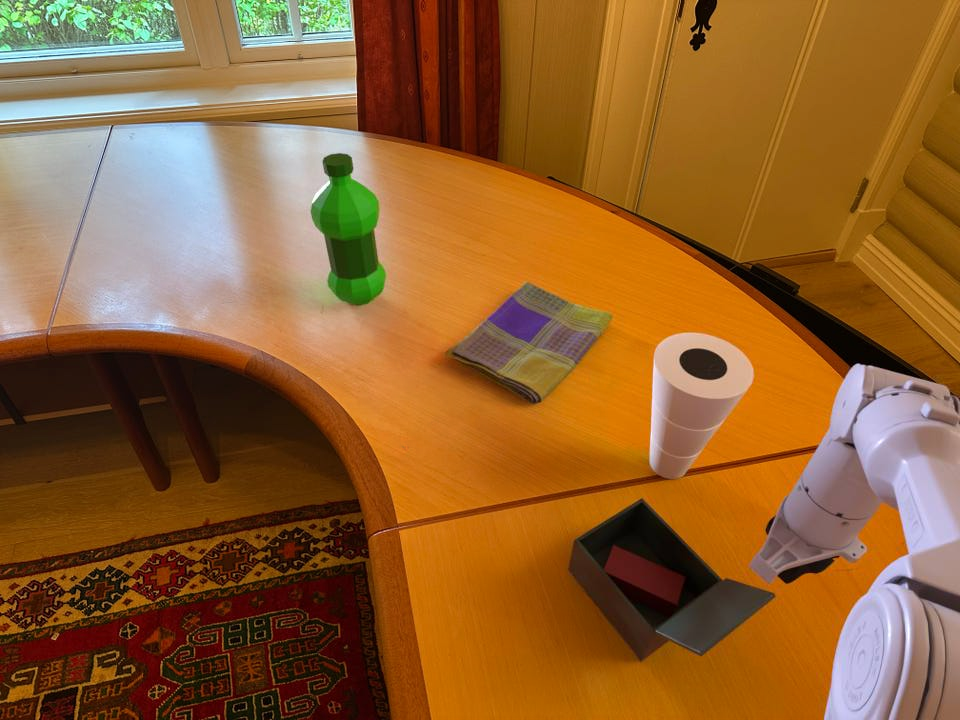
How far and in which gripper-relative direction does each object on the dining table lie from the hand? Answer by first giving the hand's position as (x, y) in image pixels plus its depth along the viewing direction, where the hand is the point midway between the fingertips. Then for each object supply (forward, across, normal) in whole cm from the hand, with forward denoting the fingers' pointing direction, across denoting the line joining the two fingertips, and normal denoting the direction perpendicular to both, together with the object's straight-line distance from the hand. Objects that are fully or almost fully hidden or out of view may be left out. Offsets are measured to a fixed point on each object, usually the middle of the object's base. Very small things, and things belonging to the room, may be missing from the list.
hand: (781, 572), depth 58 cm
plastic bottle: (+9, -9, +75) cm, 76 cm away
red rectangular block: (+9, -8, +9) cm, 15 cm away
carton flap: (0, -8, +1) cm, 8 cm away
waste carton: (+9, -8, +9) cm, 15 cm away
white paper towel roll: (+9, +8, +19) cm, 23 cm away
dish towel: (+9, +8, +48) cm, 50 cm away
